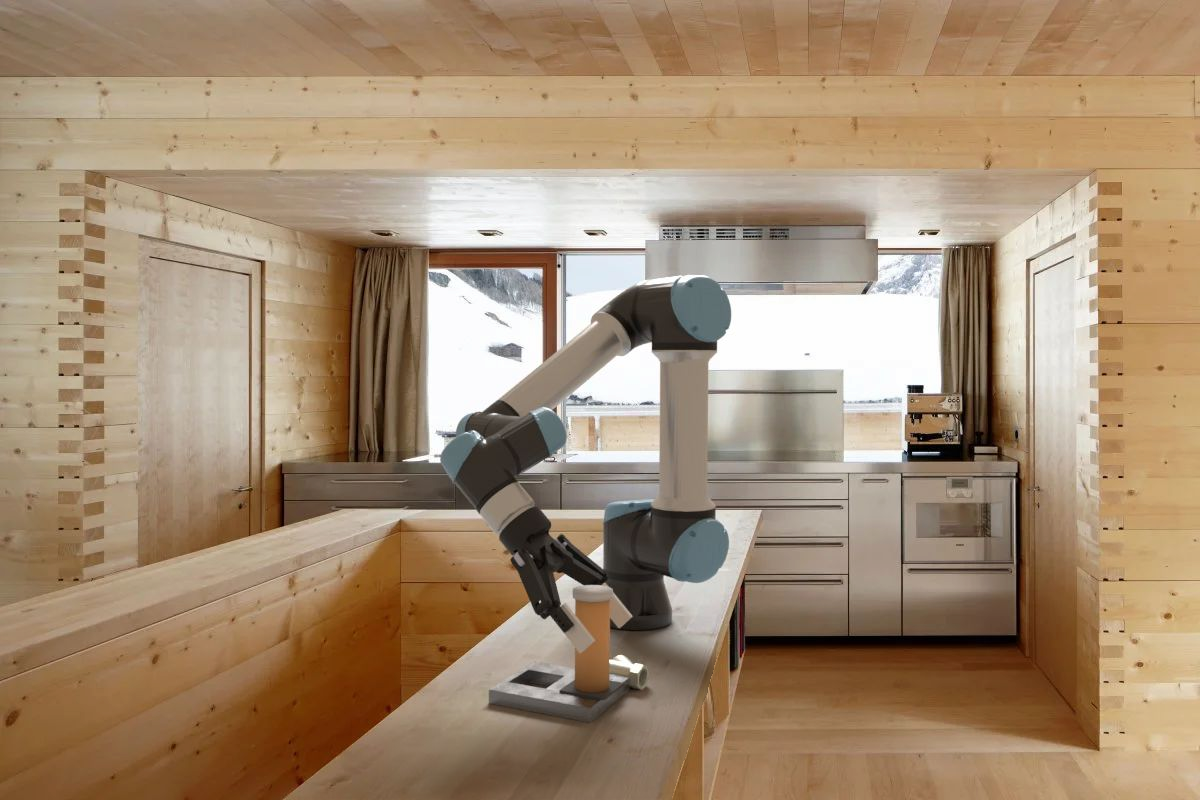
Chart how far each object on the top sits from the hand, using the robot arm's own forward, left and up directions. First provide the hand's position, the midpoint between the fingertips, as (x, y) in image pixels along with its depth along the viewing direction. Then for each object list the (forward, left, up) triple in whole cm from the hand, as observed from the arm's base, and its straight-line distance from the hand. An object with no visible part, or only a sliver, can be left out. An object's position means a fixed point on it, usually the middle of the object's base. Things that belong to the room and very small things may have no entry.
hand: (607, 634), depth 130 cm
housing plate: (0, -7, -10) cm, 13 cm away
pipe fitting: (-11, -1, -11) cm, 15 cm away
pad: (0, -2, -8) cm, 8 cm away
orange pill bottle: (0, -2, -8) cm, 8 cm away
